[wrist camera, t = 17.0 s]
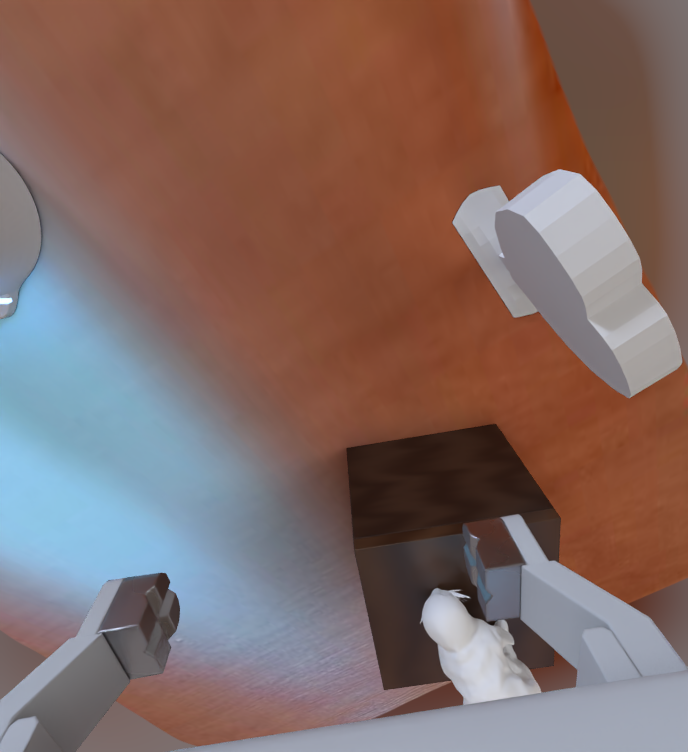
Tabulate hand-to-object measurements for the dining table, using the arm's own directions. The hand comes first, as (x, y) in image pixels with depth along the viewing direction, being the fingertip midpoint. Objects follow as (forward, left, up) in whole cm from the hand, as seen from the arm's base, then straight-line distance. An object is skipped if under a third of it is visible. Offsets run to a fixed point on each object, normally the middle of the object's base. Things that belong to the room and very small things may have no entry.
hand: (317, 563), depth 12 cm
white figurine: (+7, -28, -18) cm, 35 cm away
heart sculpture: (+18, 0, -33) cm, 38 cm away
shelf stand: (+8, -28, -33) cm, 44 cm away
